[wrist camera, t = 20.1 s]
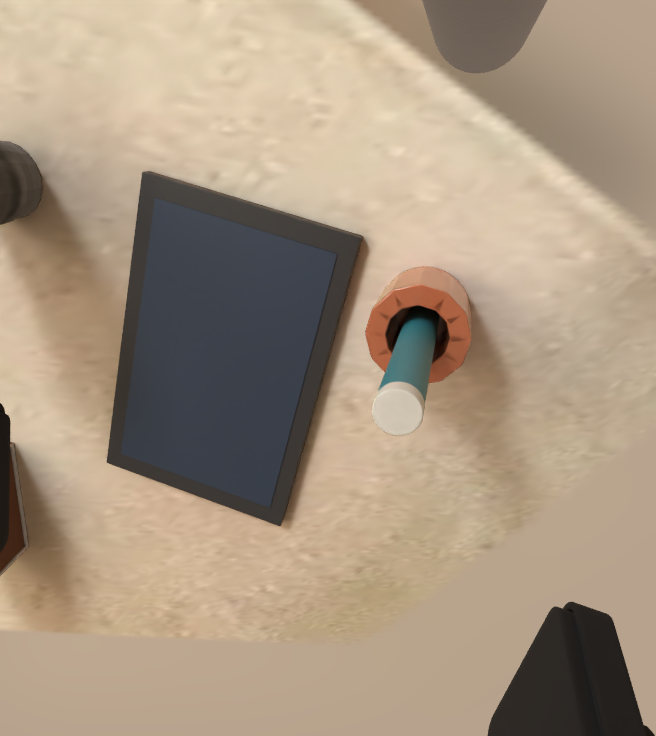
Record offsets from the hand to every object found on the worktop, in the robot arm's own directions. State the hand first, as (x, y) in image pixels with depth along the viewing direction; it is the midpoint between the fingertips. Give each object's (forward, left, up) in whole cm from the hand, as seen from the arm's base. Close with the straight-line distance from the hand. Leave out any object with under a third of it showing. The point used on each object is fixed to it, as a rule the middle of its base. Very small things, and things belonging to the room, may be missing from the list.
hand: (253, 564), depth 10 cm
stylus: (+2, +2, -25) cm, 25 cm away
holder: (+2, +2, -25) cm, 25 cm away
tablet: (+9, -9, -25) cm, 28 cm away
